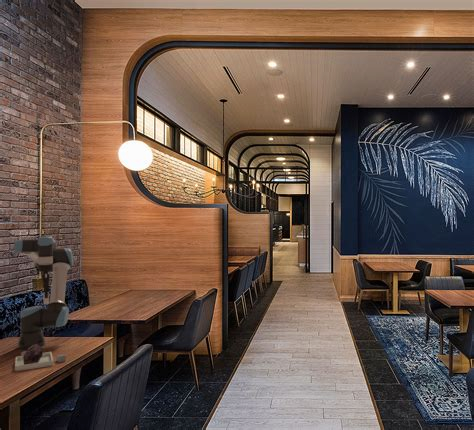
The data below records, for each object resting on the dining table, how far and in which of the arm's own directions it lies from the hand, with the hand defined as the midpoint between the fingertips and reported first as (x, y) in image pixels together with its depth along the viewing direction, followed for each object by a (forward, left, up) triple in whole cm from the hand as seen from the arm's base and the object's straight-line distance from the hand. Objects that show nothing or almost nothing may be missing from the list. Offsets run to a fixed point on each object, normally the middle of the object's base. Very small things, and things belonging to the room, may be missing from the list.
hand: (46, 301), depth 234 cm
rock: (+12, -7, -30) cm, 33 cm away
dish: (+12, -6, -30) cm, 33 cm away
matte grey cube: (-3, -10, -30) cm, 32 cm away
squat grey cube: (+14, +7, -30) cm, 34 cm away
